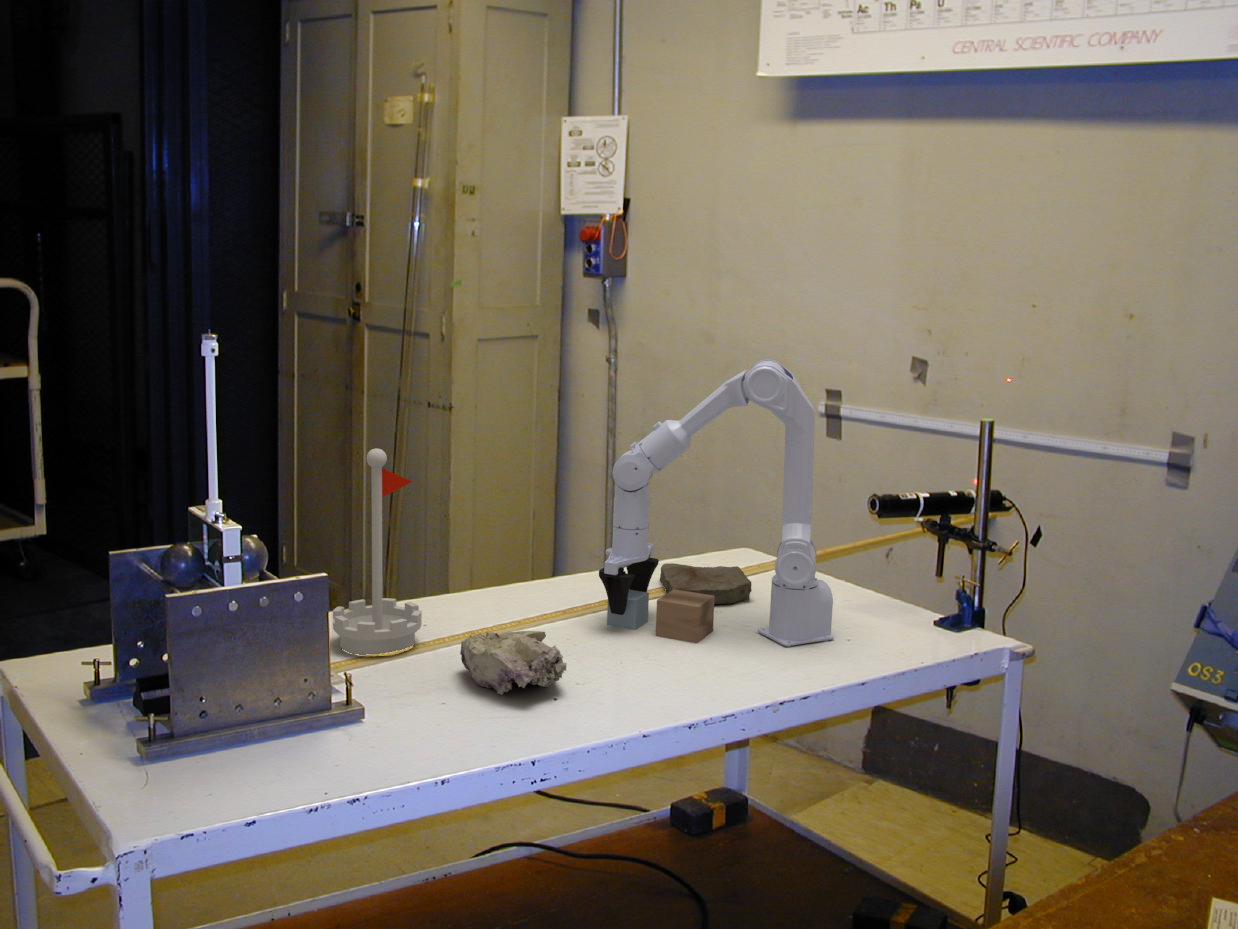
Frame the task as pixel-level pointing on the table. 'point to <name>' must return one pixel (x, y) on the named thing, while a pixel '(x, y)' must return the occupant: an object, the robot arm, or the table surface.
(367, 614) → the flag stand
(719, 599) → the flat brown rock
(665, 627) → the wood grain block
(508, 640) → the geode
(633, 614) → the slate cube
